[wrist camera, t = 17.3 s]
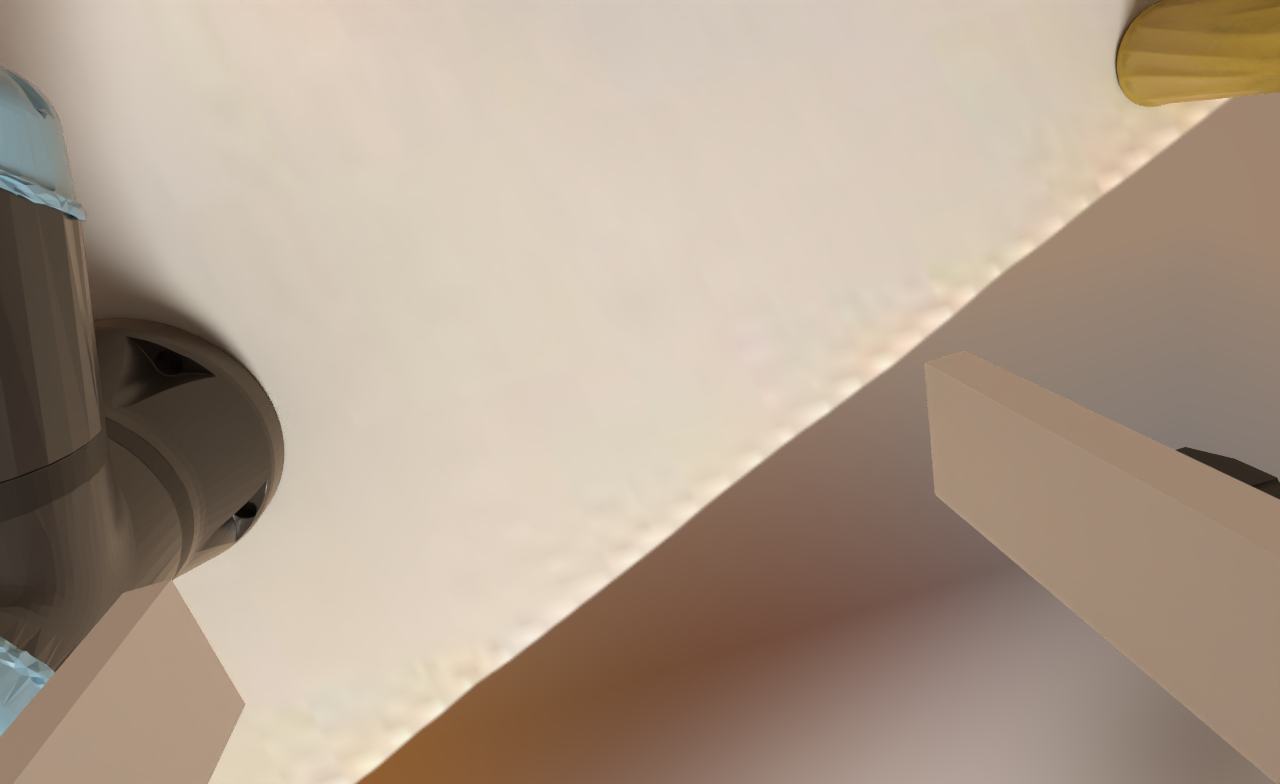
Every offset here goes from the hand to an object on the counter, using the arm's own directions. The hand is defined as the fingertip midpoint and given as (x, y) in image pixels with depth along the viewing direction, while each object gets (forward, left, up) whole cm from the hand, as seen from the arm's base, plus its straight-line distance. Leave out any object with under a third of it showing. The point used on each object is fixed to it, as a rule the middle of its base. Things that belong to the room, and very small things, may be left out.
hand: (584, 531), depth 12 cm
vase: (+41, +2, -32) cm, 52 cm away
